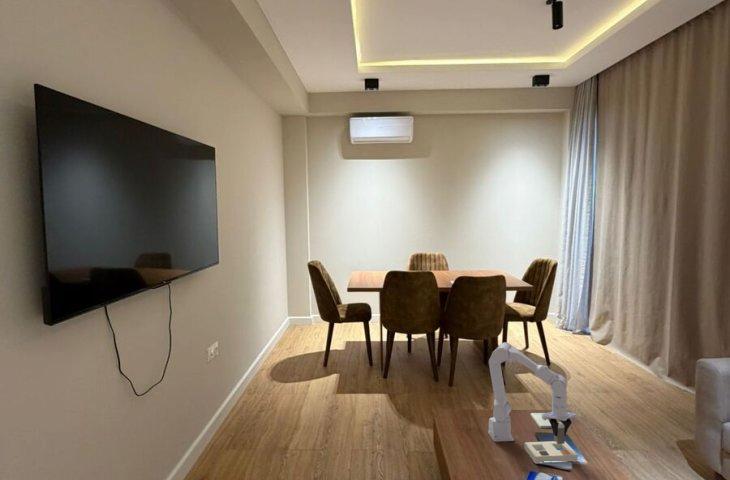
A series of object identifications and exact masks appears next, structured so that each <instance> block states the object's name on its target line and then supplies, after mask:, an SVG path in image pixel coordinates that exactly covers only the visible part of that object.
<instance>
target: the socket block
mask: <svg viewBox="0 0 730 480" xmlns="http://www.w3.org/2000/svg"><path fill="white" fill-rule="evenodd" d="M558 448H562V449H563V450H557V449H558ZM524 450H525V451H526V454H528V455H529V458H531V460H532V461H533V462H534V464H541V463H540V462H544V461H577V460H578V459H579V457H578V453H577V452H576V451H575V450H574V449H573V448H572V447H571V446H570V445H569V444H568V443H567V442H566V441H565V444H557V443H556V441H555V440H554V441H553V440H551V441H550V440H549V441H548V440H547V441H528V442H527V441H526V442H524Z"/></svg>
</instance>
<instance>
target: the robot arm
mask: <svg viewBox="0 0 730 480" xmlns="http://www.w3.org/2000/svg"><path fill="white" fill-rule="evenodd" d="M506 361H508V362H518V363H520V364H521V365H523V366H525V367H526V368H528V369H530V370H531V371H533V373H534V375H535V376H536V377H537V378H539V379H540V380H541V381H543V382H544V383H546V384H548V385H549V386H550V388H551V390H552V392H551V411H550V412H549V411H548V412H544V413H545V414H542V419H543V420H546V419H548V420H549V422H550V424H551V427H552V428H551V429H552V432H553V436H554V435H555V436H557V435H558V425H559V423H558V422H559V421H558V420H560V422H561V423H562V424H563V425H564V426H565V437H566V435H567V432H568V431H569V430H568V429H569V428H570V427H571V425H572V419H574V420H578V414H576V412H570V411H568V395H567V386H568V380H567V378H566V377H565V376H564V375H563V374H558V373H557V372H554V371H552V370H551V369H549V367H548V366H547V365H543V364H538V363H536V362H535V361H533V360H532V359H530V358H529V357H528V356H527V355H525V354H524V353H523V352H522V351H520V350H519V349H518V348H517V347H516V346H514V345H512V344H510V343H509V342H505V341H504V342H502V343H500V344H499V345H498V346H497V347H496V348H495V350H493V351H492V352H491V355H490V357H489V359H488V366H489V373H490V379H491V383H492V384H491V386H492V390H493V396H494V401H493V412H492V417H489V419H488V432H487V433H488V435H489V436H490V438H491V439H492V441H493V442H514V441H515V439H514V437H513V436H512V434H511V432H512V430H511V419H512V418H511V416H510V413H511V412H512V406H511V404H510V401H509V398H508V397H507V395H506V389H505V388H506V387H505V384H504V377H503V372H502V370H503V369H502V366H501V364H502V363H504V362H506Z"/></svg>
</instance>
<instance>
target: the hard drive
mask: <svg viewBox="0 0 730 480" xmlns="http://www.w3.org/2000/svg"><path fill="white" fill-rule="evenodd" d="M545 413H546V412H531V413H530V416H531V417H532V419H533V420H534V421H535V423H536V424H537V425H538V427H539V428H540V429H552V427H551V424H550V422H549V420H548V419H546V420H543V419H542V414H545Z"/></svg>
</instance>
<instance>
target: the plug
mask: <svg viewBox="0 0 730 480" xmlns="http://www.w3.org/2000/svg"><path fill="white" fill-rule="evenodd" d="M557 422H558V423H559V425H558V435H557V436H555V435H554V434H553V440H554V441H556V443H557V444H565V442H566V440H565V437H566V436H565V426H564V425H563V424H562V423H561V421H557Z"/></svg>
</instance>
